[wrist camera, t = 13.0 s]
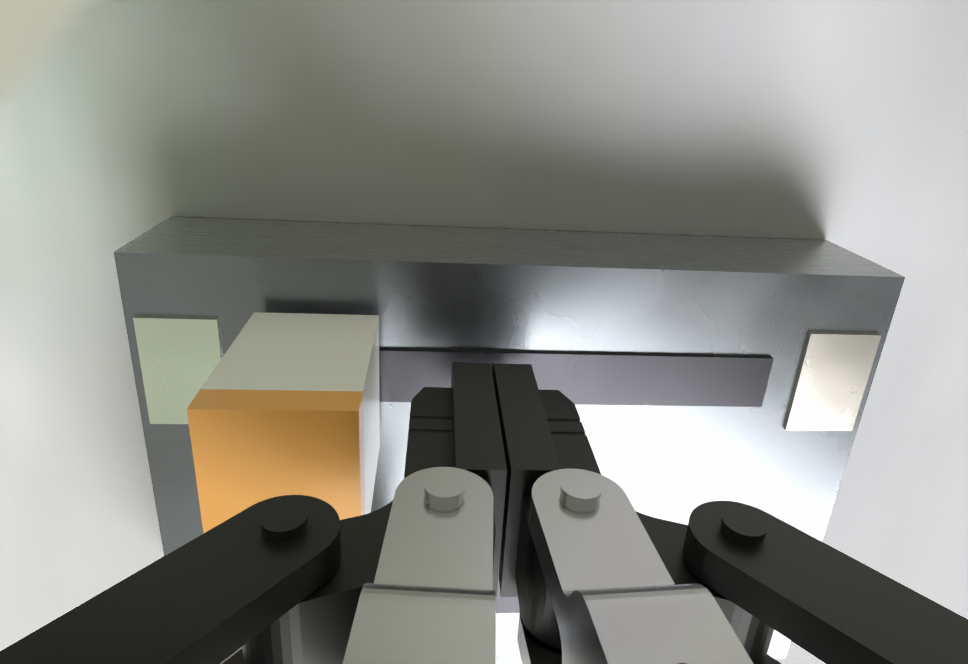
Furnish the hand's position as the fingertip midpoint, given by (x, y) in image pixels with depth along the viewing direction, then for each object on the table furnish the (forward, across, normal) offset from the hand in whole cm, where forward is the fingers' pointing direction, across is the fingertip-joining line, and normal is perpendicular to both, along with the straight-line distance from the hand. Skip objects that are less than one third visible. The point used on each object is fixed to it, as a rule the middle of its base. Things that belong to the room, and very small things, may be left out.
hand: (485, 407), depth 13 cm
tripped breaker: (+1, +3, 0) cm, 4 cm away
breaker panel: (+5, -1, +3) cm, 6 cm away
